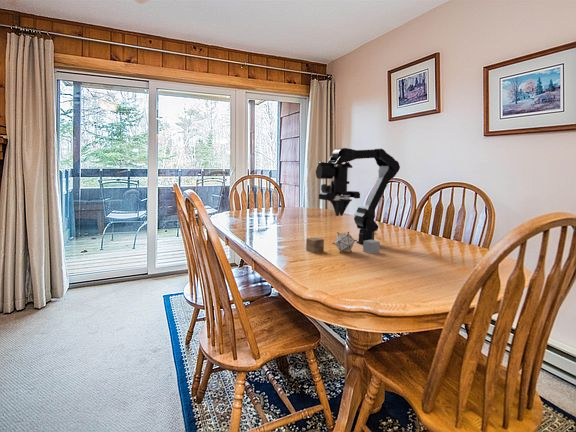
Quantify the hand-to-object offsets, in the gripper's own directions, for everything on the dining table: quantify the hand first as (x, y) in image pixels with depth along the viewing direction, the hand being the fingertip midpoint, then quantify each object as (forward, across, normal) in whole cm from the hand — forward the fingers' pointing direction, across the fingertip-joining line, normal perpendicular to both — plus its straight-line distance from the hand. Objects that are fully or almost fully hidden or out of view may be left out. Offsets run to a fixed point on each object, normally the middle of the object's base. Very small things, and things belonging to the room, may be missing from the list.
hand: (339, 215), depth 150 cm
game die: (+13, +5, +9) cm, 17 cm away
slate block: (+13, -4, +15) cm, 20 cm away
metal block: (+13, +14, +2) cm, 19 cm away
